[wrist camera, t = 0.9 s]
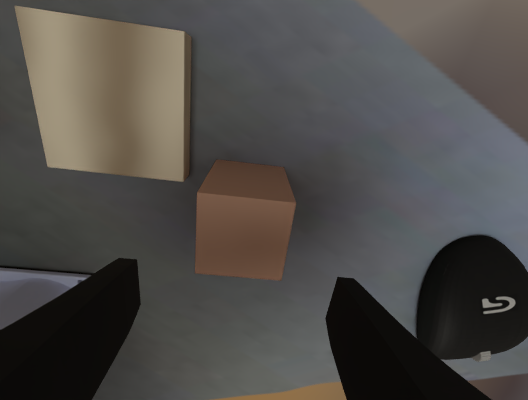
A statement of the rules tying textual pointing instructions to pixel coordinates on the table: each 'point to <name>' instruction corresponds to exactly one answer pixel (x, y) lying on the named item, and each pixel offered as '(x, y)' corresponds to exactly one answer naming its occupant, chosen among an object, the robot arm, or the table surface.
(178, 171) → the base slab
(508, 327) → the computer mouse
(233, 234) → the block
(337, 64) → the table surface
